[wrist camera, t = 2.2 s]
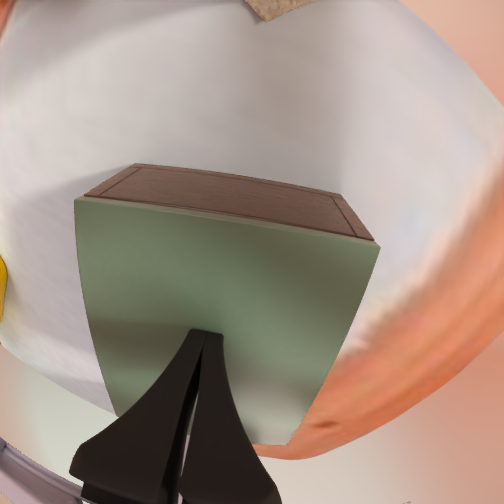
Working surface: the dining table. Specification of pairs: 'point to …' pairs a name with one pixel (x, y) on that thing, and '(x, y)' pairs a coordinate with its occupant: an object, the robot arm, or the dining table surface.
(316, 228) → the brown box
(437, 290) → the dining table surface
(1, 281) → the element tile
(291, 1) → the condiment
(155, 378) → the sage green tile
